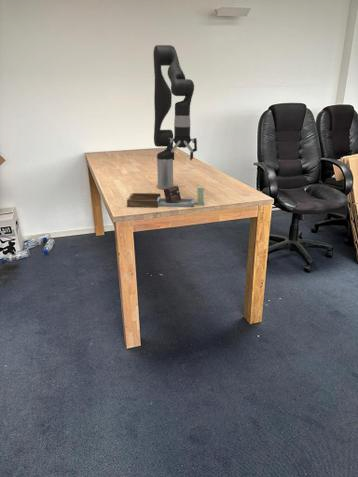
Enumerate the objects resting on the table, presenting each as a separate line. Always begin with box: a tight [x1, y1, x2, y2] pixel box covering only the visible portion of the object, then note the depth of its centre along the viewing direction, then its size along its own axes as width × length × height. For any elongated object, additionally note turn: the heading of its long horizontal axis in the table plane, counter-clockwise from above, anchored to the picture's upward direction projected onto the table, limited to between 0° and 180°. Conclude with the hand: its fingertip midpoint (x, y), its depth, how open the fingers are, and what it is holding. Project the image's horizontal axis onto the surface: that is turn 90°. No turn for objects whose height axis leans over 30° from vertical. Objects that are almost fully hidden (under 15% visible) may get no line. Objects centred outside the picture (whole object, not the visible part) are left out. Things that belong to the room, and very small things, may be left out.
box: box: [162, 185, 182, 203], centre depth 183 cm, size 6×6×7 cm
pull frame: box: [157, 185, 205, 208], centre depth 182 cm, size 9×24×9 cm, turn 86°
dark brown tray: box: [126, 192, 162, 209], centre depth 185 cm, size 14×15×4 cm
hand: (182, 160), depth 176 cm, fingers open, 8 cm apart
